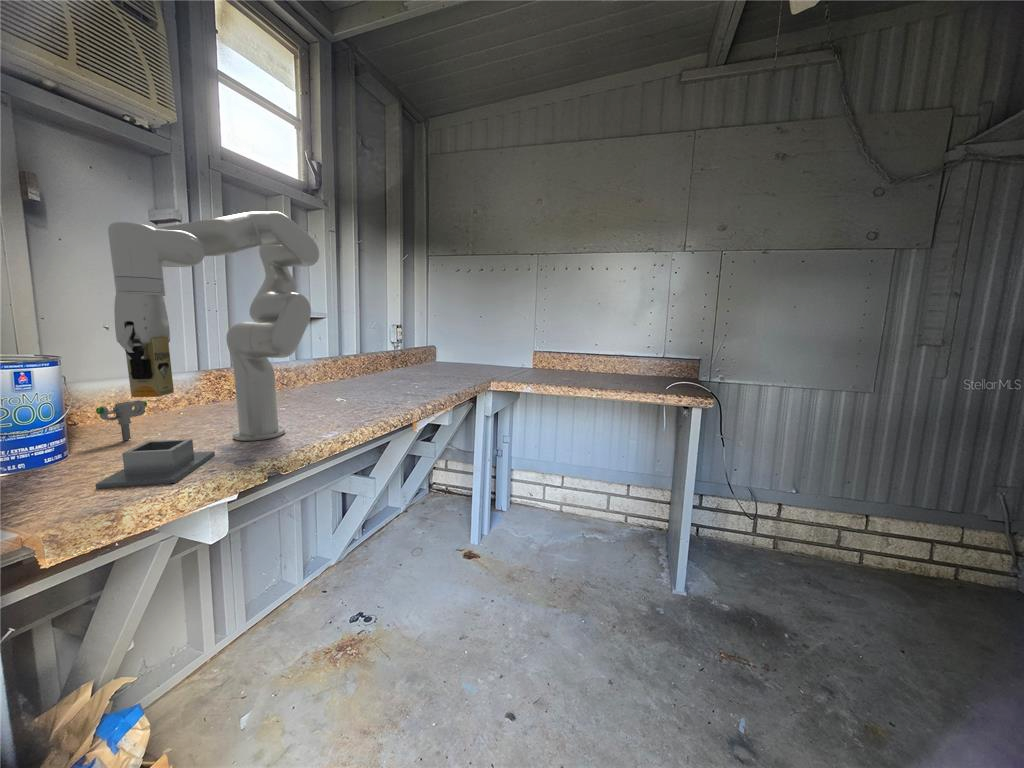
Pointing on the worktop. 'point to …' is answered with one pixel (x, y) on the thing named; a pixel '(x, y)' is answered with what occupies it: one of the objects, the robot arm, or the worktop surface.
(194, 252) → the robot arm
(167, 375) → the shoe polish box
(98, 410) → the mechanical component
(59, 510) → the worktop surface
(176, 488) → the worktop surface
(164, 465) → the holder
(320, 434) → the worktop surface
